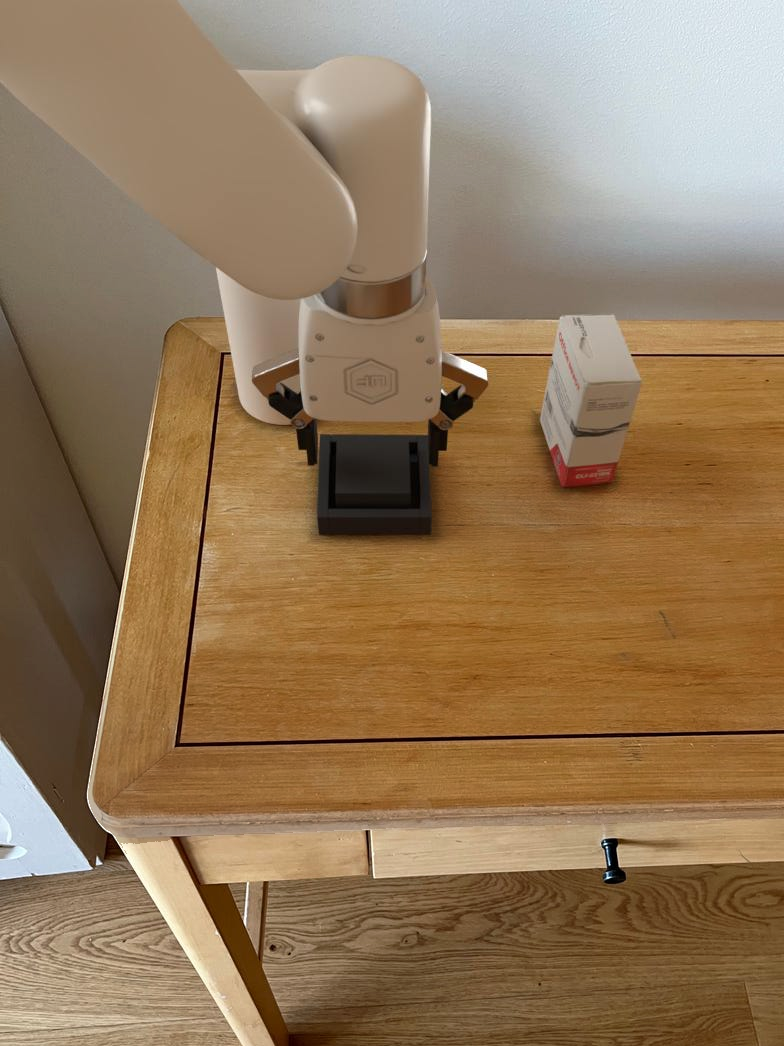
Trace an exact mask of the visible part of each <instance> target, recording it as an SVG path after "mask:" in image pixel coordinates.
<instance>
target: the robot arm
mask: <svg viewBox="0 0 784 1046" xmlns="http://www.w3.org/2000/svg"><path fill="white" fill-rule="evenodd" d="M0 84H2V86H4V88H5V89H6V90H7V91H9V93H10V94H11V95H13V96H14V97H15V98H16V99H17V100H18V101H19V102H20V103H21V104H23V105H24V106H25V107H26V108H27V110H29V111H30V112H32V114H33V115H35V116H36V117H37V118H39V119H40V120H41V121H42V122H44V123H45V124H46V125H47V126H48V127H50V128H51V129H52V130H53V131H54V132H55V133H56V134H58V135H59V136H60V137H61V138H63V139H64V140H65V141H66V142H67V143H68V144H69V145H70V146H71V147H73V148H74V149H75V150H77V152H79V153H80V154H81V155H82V156H83V157H84V158H85V159H87V160H88V162H90V163H91V164H92V165H93V166H94V167H95V168H97V169H98V170H99V172H101V173H102V174H103V175H104V176H105V177H107V178H108V179H109V180H110V182H112V183H113V184H114V185H116V187H117V188H118V189H120V190H121V191H122V192H123V193H124V194H125V195H127V196H128V197H129V198H130V199H131V200H132V201H133V202H134V203H135V204H137V206H139V207H140V208H141V209H142V210H143V211H145V212H146V213H147V214H148V215H149V216H150V217H152V218H153V220H155V222H157V223H159V224H160V225H161V226H162V227H163V228H165V229H166V230H167V231H168V232H169V233H171V234H172V235H173V236H174V237H176V238H177V239H178V240H179V241H181V242H182V243H183V244H185V245H186V246H187V247H188V248H189V249H191V250H193V251H194V252H196V253H197V254H198V255H199V256H201V257H202V258H203V259H205V260H206V261H207V262H209V263H210V264H211V265H212V266H214V267H215V268H216V267H217V268H218V269H219V270H221V271H222V272H223V273H225V274H226V275H227V276H229V277H230V278H231V279H233V280H234V281H236V282H237V283H238V284H240V285H241V286H243V287H244V288H246V289H248V290H250V291H252V292H254V293H256V294H259V295H262V296H265V297H267V298H273V299H278V300H297V299H301V302H300V310H299V329H298V339H299V348H297V349H294V350H292V351H289V352H287V353H285V354H282V355H280V356H277V357H275V358H272V359H270V360H267V361H265V362H262V363H260V364H257V365H255V366H254V367H253V372H252V383H253V384H254V385H255V387H256V388H257V389H258V390H259V391H260V392H261V394H262V395H263V396H264V397H266V398H267V399H268V402H269V405H270V406H271V407H272V408H273V409H275V410H276V411H278V412H279V413H281V414H282V415H284V416H285V417H287V418H288V419H290V420H291V422H290V423H291V424H290V425H291V427H292V428H294V429H295V431H296V441H297V448H298V449H297V450H298V451H306V458H307V459H306V460H307V466H309V467H315V465H317V464H318V456H319V433H318V423H317V422H318V421H324V422H345V423H346V422H350V423H358V422H359V423H419V422H424V421H425V422H426V421H428V423H427V424H428V425H427V435H428V455H429V466H430V467H439V455H440V454H439V453H440V452H447V450H448V439H449V438H448V437H449V430H450V429H452V428H453V426H454V422H455V421H456V420H458V419H459V418H460V417H462V416H463V415H466V413H468V412H469V411H471V410H472V409H473V408H474V404H475V402H476V400H479V398H480V397H481V395H482V394H483V393H484V392H485V390H486V389H487V388H488V387H489V375H488V371H487V369H486V368H484V367H482V366H479V365H477V364H475V363H472V362H471V361H468V360H466V359H464V358H461V357H459V356H457V355H455V354H452V353H450V352H448V351H445V350H443V349H442V346H443V345H442V344H443V343H442V326H441V325H442V324H441V316H440V309H439V303H438V298H437V294H436V289H435V285H434V282H433V280H432V279H431V277H430V275H428V274H427V255H428V251H427V250H428V230H429V229H428V228H429V227H428V225H429V223H428V222H429V197H430V196H429V195H430V166H431V141H432V140H431V136H432V107H431V101H430V97H429V93H428V91H427V88H426V87H425V85H424V84H423V82H422V80H421V79H420V78H419V76H417V74H415V72H413V71H412V70H410V69H409V68H408V67H406V66H405V65H403V64H401V63H400V62H397V61H394V60H391V59H389V58H386V57H381V56H375V55H364V54H356V55H355V54H354V55H345V56H340V57H336V58H332V59H330V60H327V61H325V62H323V63H322V64H319V65H318V66H317V67H314V68H312V69H295V70H292V69H291V70H289V69H287V70H282V69H281V70H279V69H277V70H273V69H272V70H271V69H270V70H268V69H267V70H266V69H265V70H263V69H262V70H261V69H259V70H258V69H237V68H235V67H234V66H233V65H232V63H230V61H229V60H228V59H227V58H226V57H225V56H224V55H223V53H222V52H221V51H220V50H219V49H218V48H217V47H216V45H215V44H214V43H213V42H212V41H211V39H210V38H209V37H208V36H207V35H206V33H205V32H204V31H203V30H202V29H201V27H199V25H198V24H197V23H196V21H194V19H193V18H192V17H191V16H190V14H188V12H187V10H185V8H184V7H183V6H182V5H181V3H180V2H179V1H178V0H0ZM298 374H300V385H301V387H300V388H299V389H298V390H297V391H296V392H294V391H293V390H291V389H290V388H288V387H287V386H285V385H284V384H282V383H280V381H282V380H285V379H287V378H290V377H293V376H295V375H298ZM442 377H444V378H446V379H449V380H451V381H454V382H455V383H458V384H460V385H459V386H457V387H456V388H454V389H452V390H451V391H450V392H448V393H447V392H446V391H445V390H444V388H442V384H443V383H442V381H443V379H442ZM317 420H318V421H317Z"/></svg>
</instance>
